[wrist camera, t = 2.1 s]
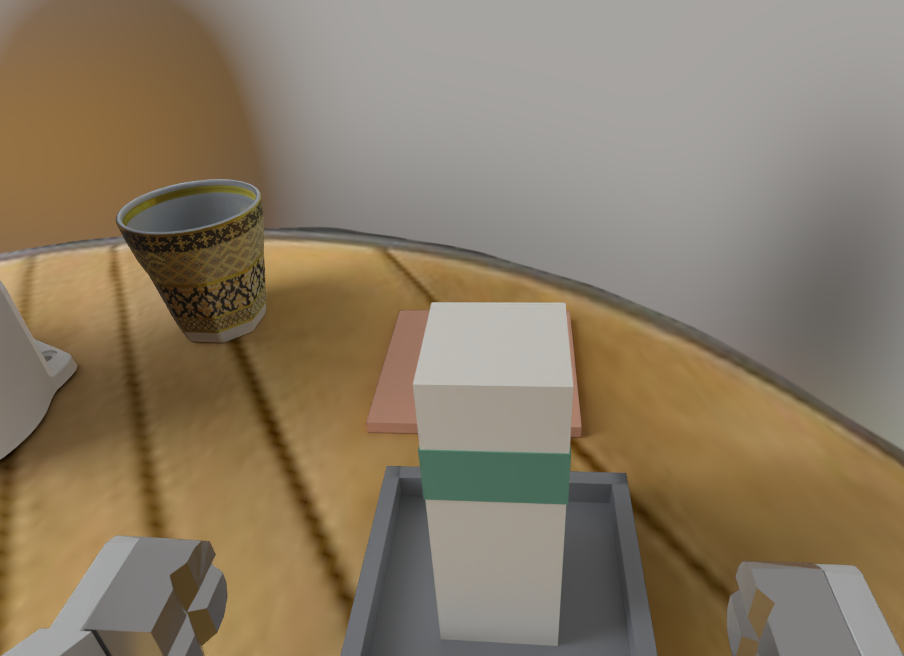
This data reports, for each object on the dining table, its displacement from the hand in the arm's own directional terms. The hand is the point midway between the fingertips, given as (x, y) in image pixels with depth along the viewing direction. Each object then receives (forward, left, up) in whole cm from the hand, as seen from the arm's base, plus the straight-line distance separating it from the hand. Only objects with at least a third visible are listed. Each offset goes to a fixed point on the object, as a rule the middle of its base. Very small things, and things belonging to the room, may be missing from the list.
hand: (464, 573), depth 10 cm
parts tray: (-7, +10, -19) cm, 22 cm away
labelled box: (-7, +10, -18) cm, 22 cm away
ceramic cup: (-41, +16, -19) cm, 48 cm away
